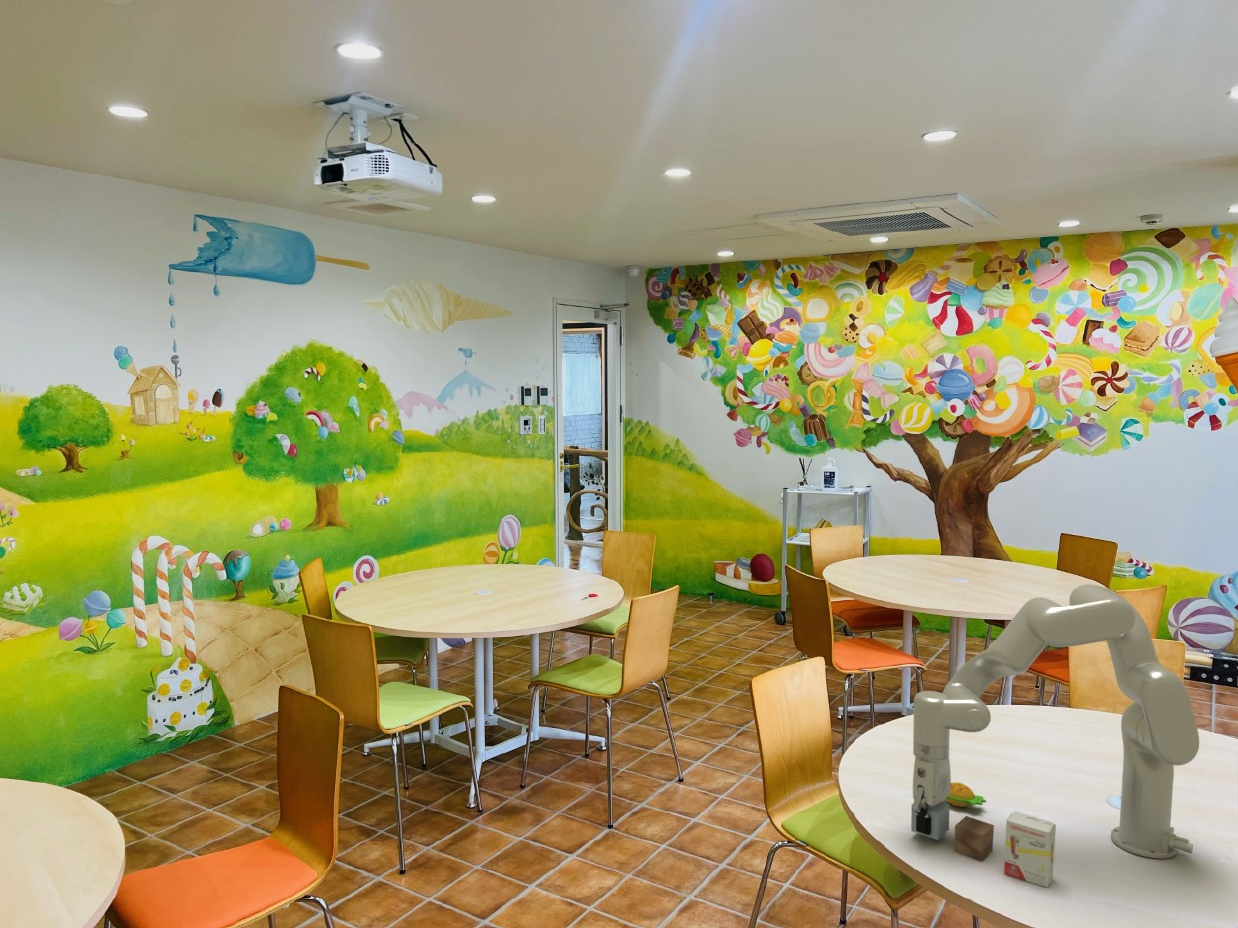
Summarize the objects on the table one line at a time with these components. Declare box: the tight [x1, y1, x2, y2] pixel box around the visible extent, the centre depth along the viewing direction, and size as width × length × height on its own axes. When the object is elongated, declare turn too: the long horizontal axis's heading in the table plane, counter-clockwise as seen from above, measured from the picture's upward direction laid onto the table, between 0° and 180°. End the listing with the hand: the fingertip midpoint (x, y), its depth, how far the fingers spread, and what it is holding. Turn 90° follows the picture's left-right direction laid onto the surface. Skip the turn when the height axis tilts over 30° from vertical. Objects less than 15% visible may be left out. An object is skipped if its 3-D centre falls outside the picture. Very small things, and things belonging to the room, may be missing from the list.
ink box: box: [1003, 811, 1057, 888], centre depth 182 cm, size 9×5×12 cm, turn 52°
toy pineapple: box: [945, 781, 987, 808], centre depth 213 cm, size 7×10×5 cm
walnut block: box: [953, 815, 995, 863], centre depth 192 cm, size 6×6×6 cm
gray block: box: [910, 799, 950, 841], centre depth 198 cm, size 6×6×6 cm
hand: (930, 826), depth 198 cm, fingers closed on gray block, 6 cm apart
